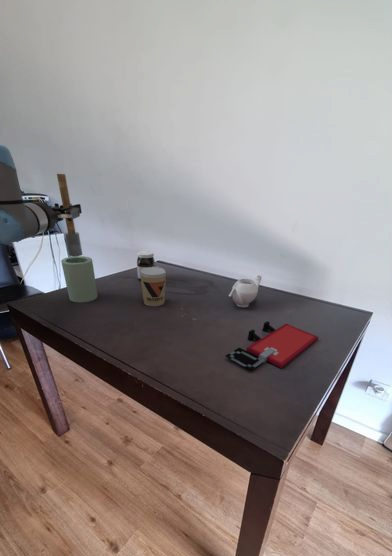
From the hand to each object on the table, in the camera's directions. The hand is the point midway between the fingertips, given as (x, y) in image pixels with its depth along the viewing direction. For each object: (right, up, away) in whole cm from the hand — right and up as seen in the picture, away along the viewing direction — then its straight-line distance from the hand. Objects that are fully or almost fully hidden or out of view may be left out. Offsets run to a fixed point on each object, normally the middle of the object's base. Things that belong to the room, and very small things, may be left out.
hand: (75, 208), depth 96 cm
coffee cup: (+25, -30, +11) cm, 41 cm away
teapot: (+59, -31, +12) cm, 67 cm away
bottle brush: (-1, -15, +3) cm, 15 cm away
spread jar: (+20, -17, +31) cm, 41 cm away
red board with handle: (+63, -47, -13) cm, 80 cm away
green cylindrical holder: (-2, -28, +12) cm, 30 cm away
